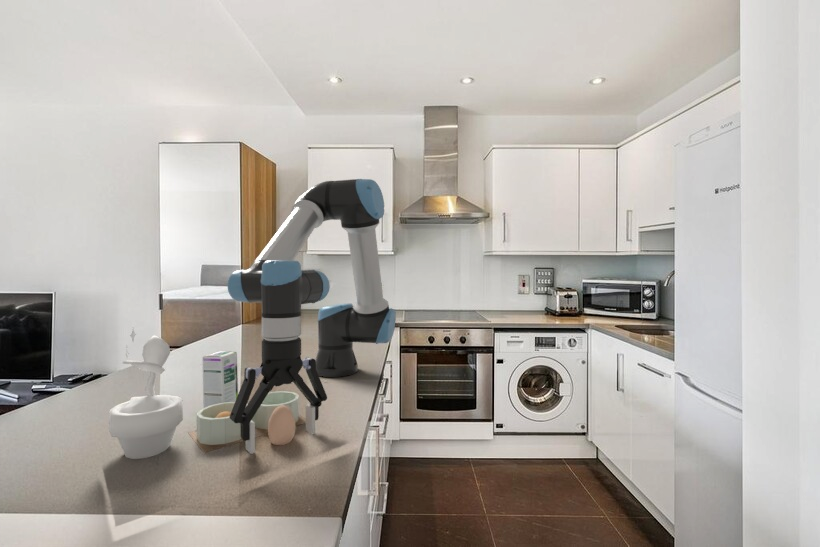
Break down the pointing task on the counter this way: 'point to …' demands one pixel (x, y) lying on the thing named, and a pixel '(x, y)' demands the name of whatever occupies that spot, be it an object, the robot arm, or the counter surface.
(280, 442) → the egg
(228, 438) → the cup
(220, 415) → the rubber ball
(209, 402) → the syrup box
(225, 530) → the counter surface
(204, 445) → the rack board
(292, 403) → the cup
